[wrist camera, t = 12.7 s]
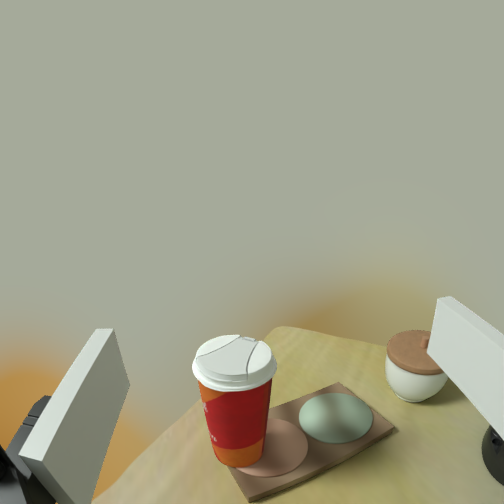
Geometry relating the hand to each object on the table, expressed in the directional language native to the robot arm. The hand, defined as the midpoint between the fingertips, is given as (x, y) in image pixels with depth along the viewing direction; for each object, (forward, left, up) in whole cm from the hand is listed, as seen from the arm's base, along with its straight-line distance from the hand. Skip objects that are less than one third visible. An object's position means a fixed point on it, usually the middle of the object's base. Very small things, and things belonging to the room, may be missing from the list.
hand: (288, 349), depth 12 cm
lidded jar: (-30, -12, -25) cm, 41 cm away
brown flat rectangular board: (-11, -14, -25) cm, 30 cm away
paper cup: (-3, -14, -23) cm, 28 cm away
